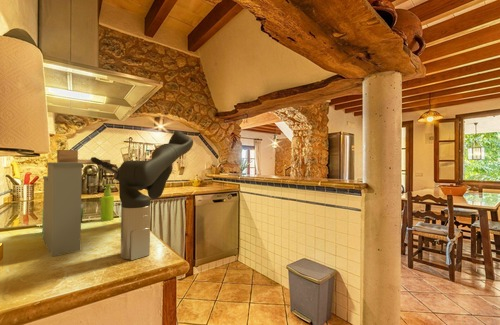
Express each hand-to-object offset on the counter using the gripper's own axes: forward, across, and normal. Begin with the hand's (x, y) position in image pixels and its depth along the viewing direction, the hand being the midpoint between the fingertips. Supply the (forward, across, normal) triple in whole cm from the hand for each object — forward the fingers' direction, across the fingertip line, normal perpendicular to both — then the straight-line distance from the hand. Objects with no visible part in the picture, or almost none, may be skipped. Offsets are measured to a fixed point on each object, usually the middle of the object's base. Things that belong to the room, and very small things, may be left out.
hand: (91, 158), depth 104 cm
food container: (-15, -24, +30) cm, 42 cm away
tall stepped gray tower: (-6, +9, +35) cm, 37 cm away
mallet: (+1, 0, +3) cm, 3 cm away
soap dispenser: (-28, -20, +24) cm, 41 cm away
